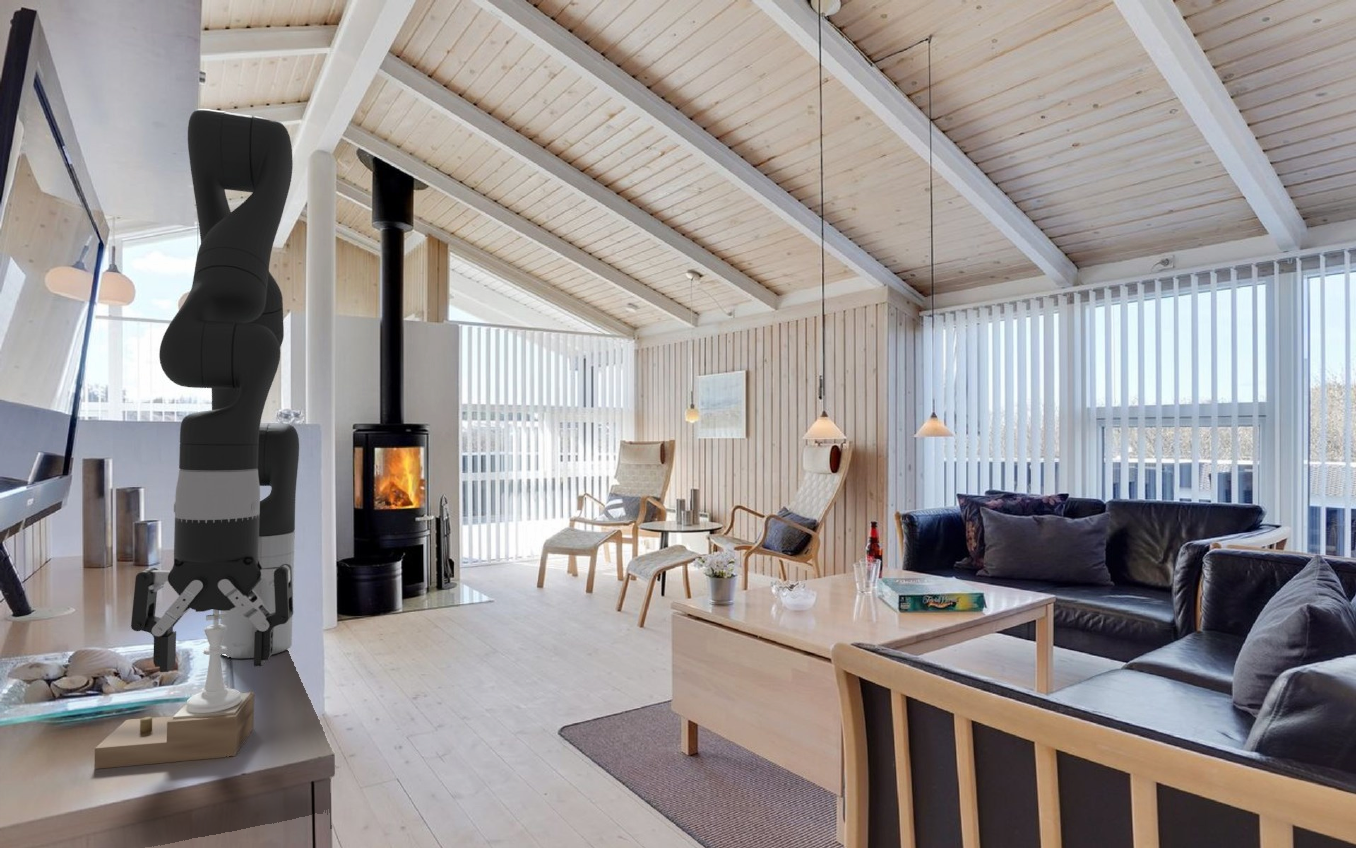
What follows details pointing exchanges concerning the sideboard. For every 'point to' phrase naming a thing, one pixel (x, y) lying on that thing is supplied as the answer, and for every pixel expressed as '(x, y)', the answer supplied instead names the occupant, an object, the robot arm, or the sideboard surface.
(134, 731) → the stepped wooden block
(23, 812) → the sideboard surface
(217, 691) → the chess piece
